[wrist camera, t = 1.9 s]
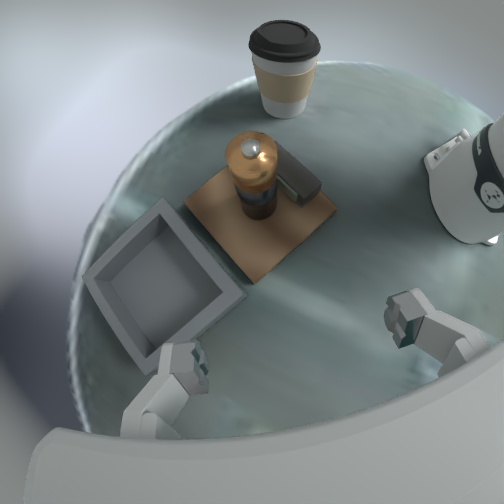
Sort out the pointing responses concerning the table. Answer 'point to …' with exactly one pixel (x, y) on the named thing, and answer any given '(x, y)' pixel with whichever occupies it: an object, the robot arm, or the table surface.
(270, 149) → the battery cell
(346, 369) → the table surface
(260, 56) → the coffee cup
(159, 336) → the bin
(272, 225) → the plate
